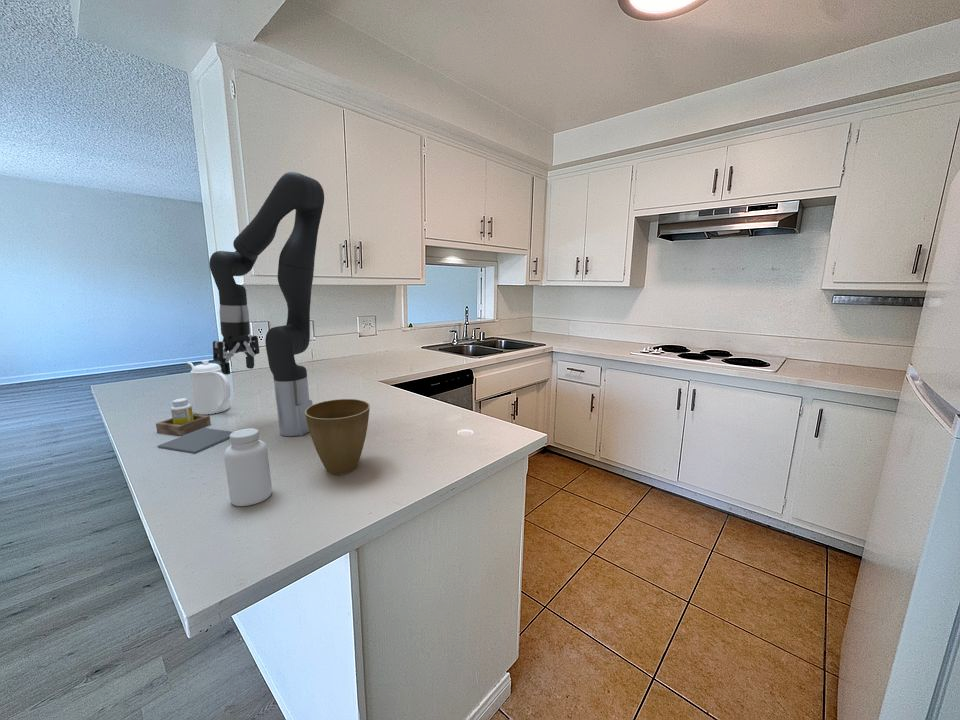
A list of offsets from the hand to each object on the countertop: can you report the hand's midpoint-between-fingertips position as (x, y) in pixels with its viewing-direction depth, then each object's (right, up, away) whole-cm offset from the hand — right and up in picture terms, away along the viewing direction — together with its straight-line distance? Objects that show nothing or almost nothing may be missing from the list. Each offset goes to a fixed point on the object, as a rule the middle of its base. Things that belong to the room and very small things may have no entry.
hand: (238, 371), depth 121 cm
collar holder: (-19, -18, +3) cm, 27 cm away
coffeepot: (-22, -15, +20) cm, 33 cm away
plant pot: (+41, -24, -23) cm, 53 cm away
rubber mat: (-7, -20, -7) cm, 23 cm away
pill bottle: (+26, -27, -36) cm, 52 cm away
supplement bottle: (-19, -19, +3) cm, 27 cm away
